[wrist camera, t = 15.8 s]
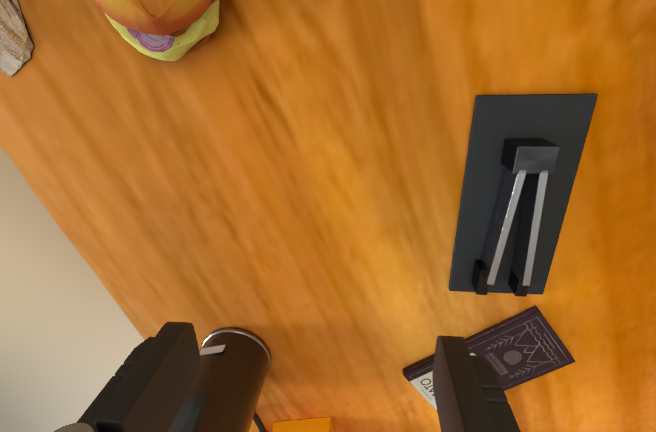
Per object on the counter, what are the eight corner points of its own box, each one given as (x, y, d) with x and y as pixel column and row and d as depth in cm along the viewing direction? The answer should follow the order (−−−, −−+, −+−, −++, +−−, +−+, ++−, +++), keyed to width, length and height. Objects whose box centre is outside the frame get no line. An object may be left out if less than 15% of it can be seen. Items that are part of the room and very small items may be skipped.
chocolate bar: (575, 361, 42) (441, 416, 48) (571, 355, 43) (440, 409, 49) (539, 311, 40) (403, 375, 46) (536, 306, 41) (402, 369, 46)
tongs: (495, 138, 33) (507, 146, 30) (552, 138, 32) (571, 146, 30) (470, 282, 40) (479, 300, 37) (518, 284, 39) (530, 302, 36)
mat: (540, 291, 40) (542, 294, 39) (448, 287, 41) (449, 291, 40) (594, 93, 31) (598, 94, 31) (475, 95, 32) (477, 95, 32)
